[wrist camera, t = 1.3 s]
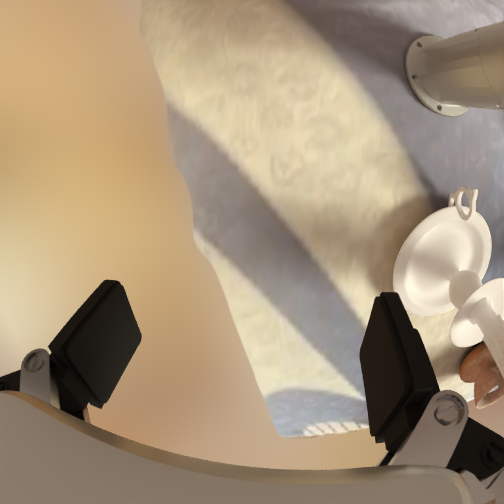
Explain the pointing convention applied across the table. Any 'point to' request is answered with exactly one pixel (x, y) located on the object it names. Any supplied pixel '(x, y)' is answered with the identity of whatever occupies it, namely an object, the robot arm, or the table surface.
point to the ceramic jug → (482, 375)
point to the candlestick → (454, 275)
